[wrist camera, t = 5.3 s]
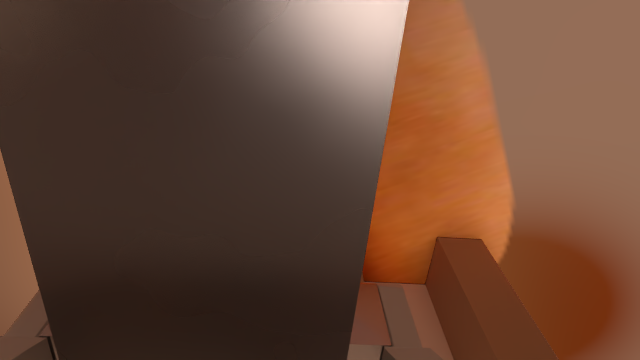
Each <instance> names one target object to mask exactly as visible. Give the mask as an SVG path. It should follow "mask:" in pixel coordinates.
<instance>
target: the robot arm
mask: <svg viewBox="0 0 640 360" xmlns="http://www.w3.org/2000/svg"><path fill="white" fill-rule="evenodd" d="M0 360H59V358H58V355H57V351H56V347H55V344H54V340H53V337H52V333H51V329H50V326H49V322H48V319H47V315H46V311H45V308H44V304H43V301H42V297H41V293H40V290H38V292H37V293H36V294H35V296H34V297H33V298H32V300H31V301H30V302H29V303H28V305H27V306H26V307H25V309H24V310H23V311H22V312H21V314H20V315H19V316H18V318H17V319H16V320H15V321H14V323H13V324H12V325H11V327H10V328H9V329H8V330H7V332H6V333H5V334H4V336H0ZM347 360H443V359H442V358H441V357H440V356H439V355H438V354H436V353H435V352H434V351H433V350H432V349H431V348H423V347H422V344H421V341H420V338H419V335H418V332H417V329H416V326H415V323H414V319H413V316H412V313H411V310H410V307H409V304H408V301H407V298H406V295H405V292H404V288H403V286H402V285H401V284H400V283H360V287H359V293H358V299H357V304H356V310H355V316H354V322H353V328H352V333H351V339H350V345H349V351H348V357H347Z"/></svg>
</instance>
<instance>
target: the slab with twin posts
mask: <svg viewBox="0 0 640 360" xmlns="http://www.w3.org/2000/svg"><path fill="white" fill-rule="evenodd" d="M360 283H379V282H364V279H363V274H362V275H361V281H360ZM400 284H401V283H400ZM401 285H402V286H403V288H404V292H405V295H406V298H407V301H408V304H409V307H410V310H411V313H412V316H413V319H414V323H415V326H416V329H417V332H418V335H419V338H420V341H421V344H422V347H423V348H431V349H432V350H433V351H434V352H435V353H436V354H438V355H439V356H440V357H441V358H442V359H443V360H559V359H558V358H557V357H556V355H555V353H554V352H553V350H552V349H551V347H550V345H549V344H548V342H547V341H546V339H545V338H544V336H543V335H542V333H541V332H540V330H539V328H538V327H537V325H536V324H535V322H534V321H533V319H532V318H531V316H530V314H529V313H528V311H527V310H526V308H525V307H524V305H523V303H522V302H521V300H520V299H519V297H518V296H517V294H516V292H515V291H514V289H513V288H512V286H511V285H510V283H509V282H508V280H507V279H506V277H505V276H504V274H503V272H502V271H501V269H500V268H499V266H498V264H497V263H496V261H495V260H494V258H493V257H492V255H491V254H490V252H489V250H488V249H487V247H486V246H485V244H484V243H483V241H482V240H479V239H461V238H442V237H437V241H436V245H435V249H434V252H433V256H432V260H431V264H430V268H429V272H428V276H427V280H426V284H425V285H423V284H401Z"/></svg>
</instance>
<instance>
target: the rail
mask: <svg viewBox="0 0 640 360" xmlns="http://www.w3.org/2000/svg"><path fill="white" fill-rule="evenodd" d="M408 3H409V0H0V149H1V153H2V156H3V160H4V164H5V167H6V171H7V174H8V178H9V182H10V185H11V189H12V192H13V196H14V199H15V203H16V207H17V211H18V214H19V218H20V221H21V225H22V228H23V232H24V236H25V239H26V243H27V246H28V250H29V254H30V257H31V261H32V265H33V268H34V272H35V275H36V279H37V282H38V286H39V290H40V293H41V297H42V301H43V304H44V308H45V311H46V315H47V319H48V322H49V326H50V329H51V333H52V337H53V340H54V344H55V347H56V351H57V355H58V358H59V360H347V357H348V351H349V345H350V339H351V333H352V328H353V322H354V316H355V310H356V304H357V299H358V293H359V287H360V281H361V275H362V270H363V264H364V258H365V252H366V246H367V241H368V235H369V229H370V223H371V217H372V212H373V206H374V200H375V194H376V189H377V183H378V177H379V171H380V165H381V160H382V154H383V148H384V142H385V136H386V131H387V125H388V119H389V113H390V107H391V102H392V96H393V90H394V84H395V78H396V73H397V67H398V61H399V55H400V49H401V44H402V38H403V32H404V26H405V20H406V15H407V9H408Z"/></svg>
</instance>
